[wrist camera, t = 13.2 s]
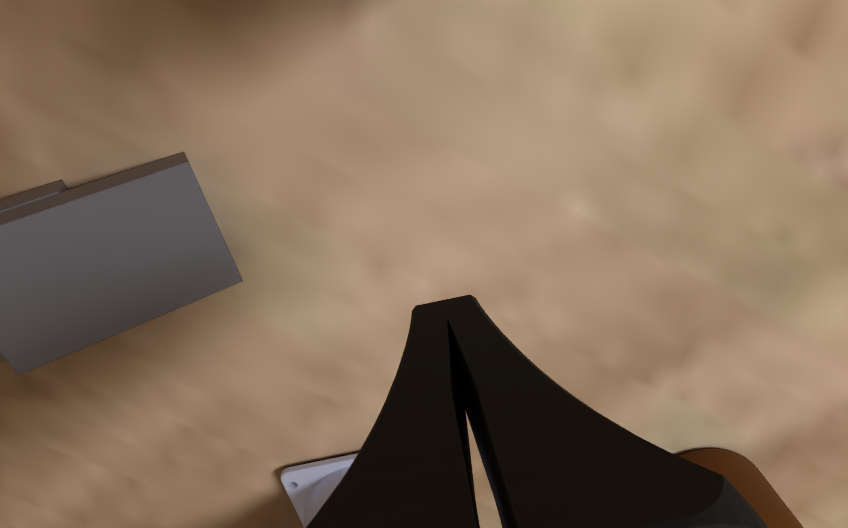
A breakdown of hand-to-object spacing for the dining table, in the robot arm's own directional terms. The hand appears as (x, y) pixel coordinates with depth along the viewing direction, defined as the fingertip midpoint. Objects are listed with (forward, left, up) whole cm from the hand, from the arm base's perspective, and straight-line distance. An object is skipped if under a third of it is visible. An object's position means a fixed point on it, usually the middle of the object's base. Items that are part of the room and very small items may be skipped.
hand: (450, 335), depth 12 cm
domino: (0, +8, -10) cm, 12 cm away
